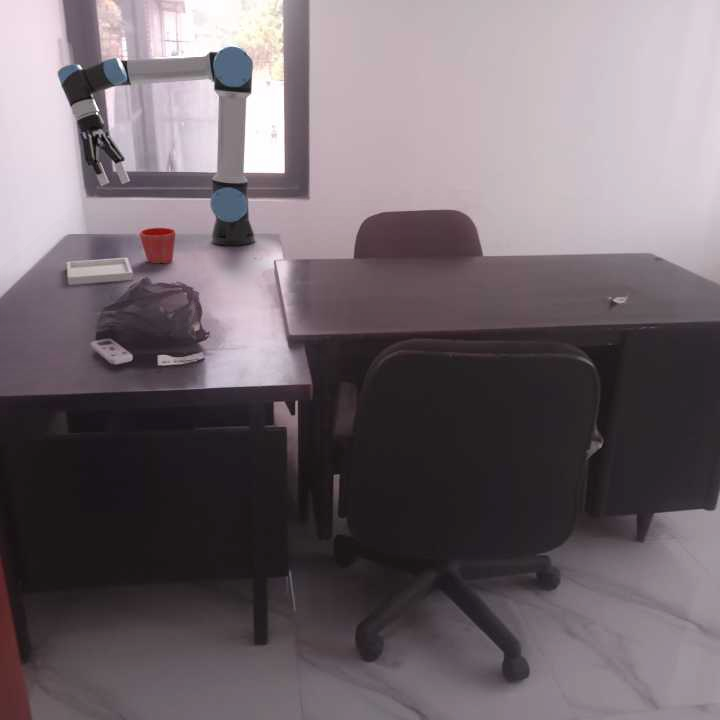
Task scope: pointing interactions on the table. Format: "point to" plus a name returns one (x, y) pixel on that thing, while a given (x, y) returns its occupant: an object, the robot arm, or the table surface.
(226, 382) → the table surface
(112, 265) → the drip tray
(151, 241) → the flower pot
